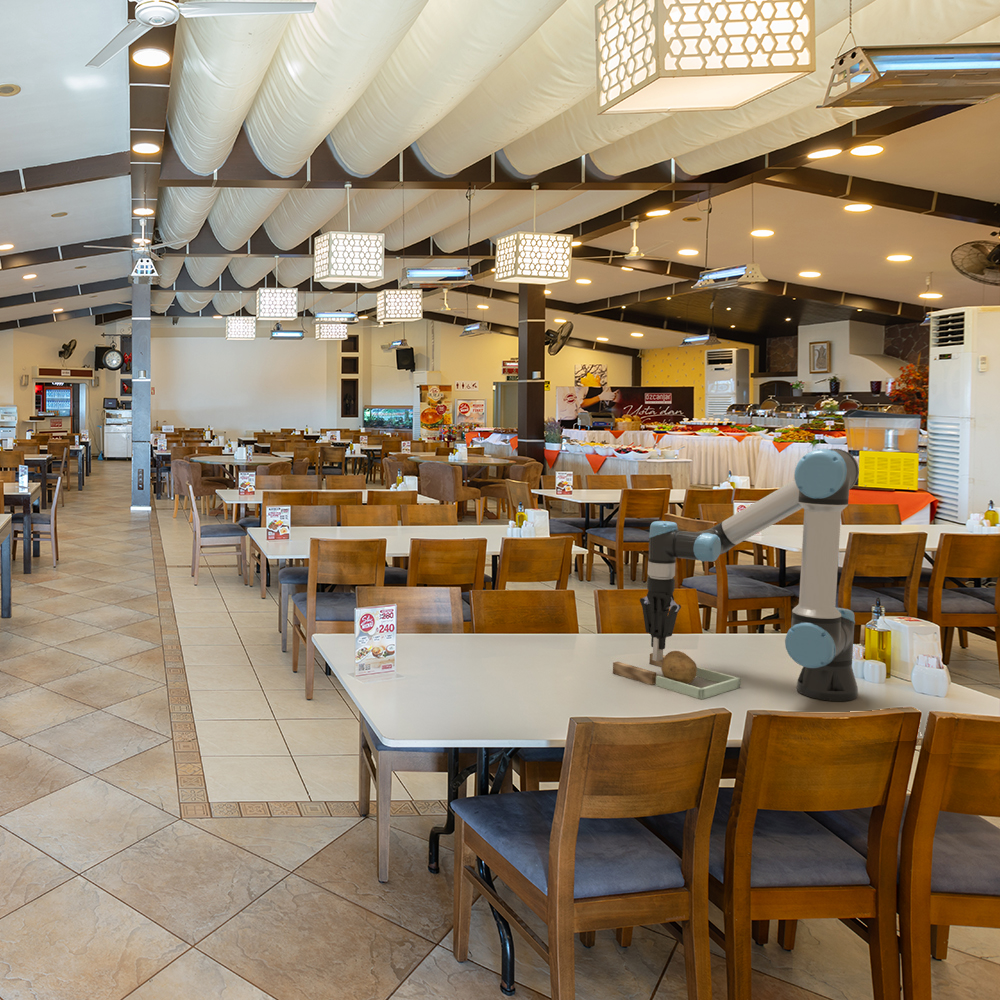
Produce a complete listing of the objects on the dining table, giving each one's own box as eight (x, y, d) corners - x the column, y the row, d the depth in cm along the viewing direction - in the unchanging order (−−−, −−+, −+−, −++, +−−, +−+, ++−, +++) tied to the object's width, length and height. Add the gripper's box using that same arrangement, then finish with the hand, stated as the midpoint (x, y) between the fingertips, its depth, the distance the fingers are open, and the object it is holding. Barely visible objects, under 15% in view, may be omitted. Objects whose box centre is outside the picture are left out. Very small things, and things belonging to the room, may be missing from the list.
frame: (740, 687, 234) (740, 678, 234) (701, 699, 223) (702, 689, 223) (694, 674, 246) (694, 665, 246) (655, 685, 235) (656, 676, 235)
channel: (692, 673, 247) (692, 663, 247) (651, 684, 235) (651, 673, 235) (653, 662, 257) (654, 652, 257) (612, 673, 246) (613, 662, 246)
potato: (665, 691, 230) (666, 661, 229) (656, 675, 244) (657, 647, 243) (702, 692, 230) (703, 662, 229) (691, 676, 244) (693, 648, 243)
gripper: (688, 579, 240) (684, 662, 242) (651, 572, 250) (648, 652, 252) (671, 581, 235) (667, 667, 237) (634, 574, 245) (631, 656, 247)
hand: (657, 659), depth 245 cm, fingers closed
